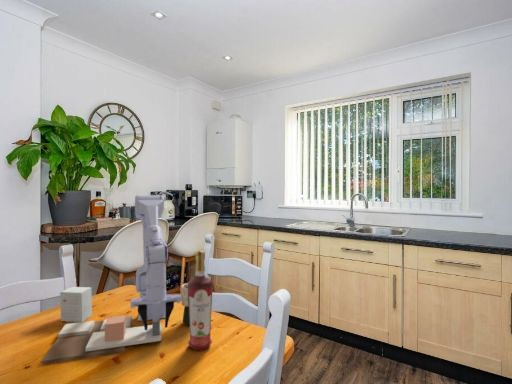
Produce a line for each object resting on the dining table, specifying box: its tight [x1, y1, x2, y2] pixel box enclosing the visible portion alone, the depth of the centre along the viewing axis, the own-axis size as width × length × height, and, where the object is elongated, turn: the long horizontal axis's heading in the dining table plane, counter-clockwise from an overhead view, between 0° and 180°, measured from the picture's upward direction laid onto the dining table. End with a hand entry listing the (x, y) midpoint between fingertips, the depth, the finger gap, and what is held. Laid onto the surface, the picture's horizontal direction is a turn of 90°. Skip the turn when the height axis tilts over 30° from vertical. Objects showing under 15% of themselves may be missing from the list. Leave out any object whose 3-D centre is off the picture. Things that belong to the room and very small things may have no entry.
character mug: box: [180, 282, 189, 325], centre depth 101 cm, size 11×7×13 cm, turn 164°
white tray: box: [85, 314, 163, 352], centre depth 88 cm, size 20×9×5 cm, turn 107°
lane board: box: [41, 315, 133, 365], centre depth 90 cm, size 20×21×2 cm
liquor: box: [187, 250, 214, 351], centre depth 86 cm, size 7×7×28 cm
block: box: [105, 315, 127, 342], centre depth 87 cm, size 5×5×5 cm
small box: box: [59, 286, 93, 323], centre depth 104 cm, size 8×6×10 cm
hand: (156, 327), depth 91 cm, fingers open, 5 cm apart
